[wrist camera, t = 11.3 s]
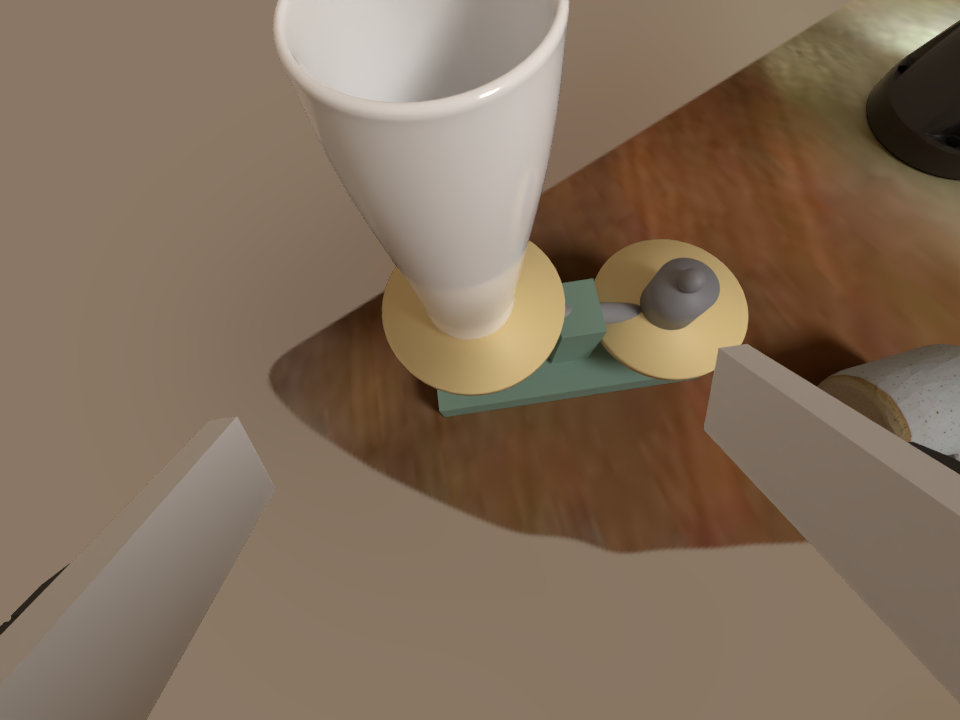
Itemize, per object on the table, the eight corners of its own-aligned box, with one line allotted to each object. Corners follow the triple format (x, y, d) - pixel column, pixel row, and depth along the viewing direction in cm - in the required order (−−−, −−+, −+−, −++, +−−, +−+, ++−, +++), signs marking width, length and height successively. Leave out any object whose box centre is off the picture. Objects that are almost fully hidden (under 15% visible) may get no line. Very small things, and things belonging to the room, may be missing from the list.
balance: (678, 275, 36) (763, 178, 24) (716, 387, 32) (836, 338, 21) (417, 315, 36) (376, 239, 24) (429, 430, 33) (388, 406, 21)
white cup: (447, 237, 24) (367, -119, 10) (545, 277, 23) (621, -62, 8) (393, 326, 22) (202, 57, 8) (496, 374, 21) (488, 159, 7)
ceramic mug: (786, 385, 32) (872, 361, 25) (876, 359, 32) (988, 327, 25) (854, 514, 29) (974, 530, 22) (953, 485, 29) (1105, 491, 22)
